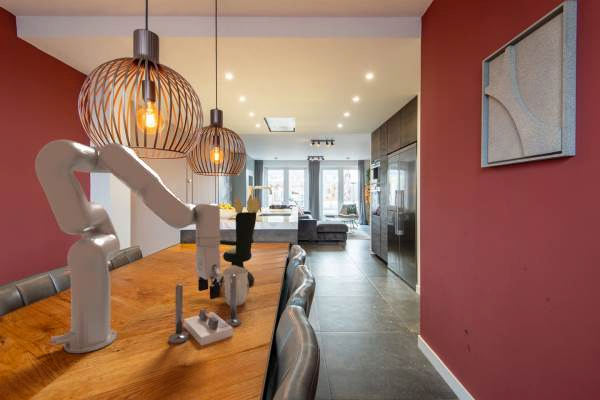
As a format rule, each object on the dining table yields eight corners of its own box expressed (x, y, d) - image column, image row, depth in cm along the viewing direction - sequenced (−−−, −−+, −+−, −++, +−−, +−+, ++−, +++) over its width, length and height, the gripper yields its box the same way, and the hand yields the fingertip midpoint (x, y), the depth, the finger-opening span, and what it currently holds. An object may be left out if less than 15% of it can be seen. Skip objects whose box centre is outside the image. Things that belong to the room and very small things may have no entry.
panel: (201, 345, 85) (201, 337, 85) (184, 326, 98) (184, 318, 98) (232, 335, 91) (232, 327, 91) (212, 318, 104) (212, 311, 104)
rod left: (171, 346, 85) (171, 288, 85) (166, 338, 89) (166, 283, 89) (191, 340, 88) (191, 284, 88) (185, 333, 93) (185, 280, 93)
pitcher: (224, 314, 108) (224, 277, 108) (219, 298, 125) (219, 266, 124) (253, 310, 112) (254, 274, 112) (245, 295, 129) (245, 264, 128)
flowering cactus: (243, 276, 158) (244, 193, 157) (269, 285, 142) (270, 194, 142) (211, 283, 145) (212, 193, 144) (236, 294, 129) (236, 193, 128)
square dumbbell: (212, 329, 89) (213, 321, 90) (198, 316, 99) (200, 309, 99) (217, 328, 90) (218, 320, 91) (203, 316, 100) (204, 309, 100)
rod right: (229, 328, 96) (229, 277, 96) (222, 322, 101) (222, 274, 100) (244, 324, 100) (244, 274, 100) (236, 318, 104) (237, 271, 104)
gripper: (187, 239, 98) (188, 289, 99) (207, 246, 85) (207, 304, 85) (209, 237, 103) (209, 285, 104) (230, 243, 90) (231, 298, 90)
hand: (209, 293), depth 94 cm, fingers open, 9 cm apart
